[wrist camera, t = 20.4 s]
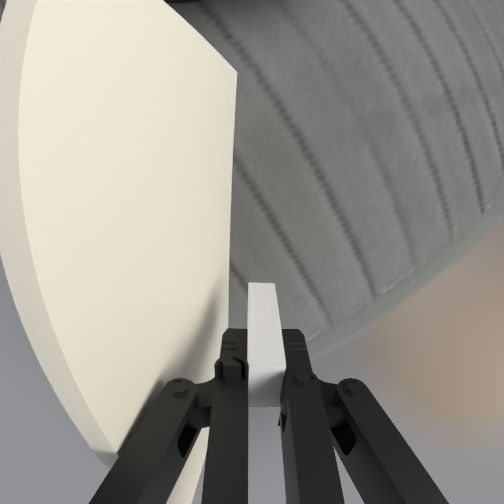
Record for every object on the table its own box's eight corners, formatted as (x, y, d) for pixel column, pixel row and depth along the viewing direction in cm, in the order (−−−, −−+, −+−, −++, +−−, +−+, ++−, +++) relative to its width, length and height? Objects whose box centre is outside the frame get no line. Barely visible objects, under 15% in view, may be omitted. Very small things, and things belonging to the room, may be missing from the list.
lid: (220, 72, 17) (237, 72, 17) (216, 376, 28) (227, 378, 28) (24, -43, 2) (64, -69, 1) (166, 528, 12) (182, 533, 12)
